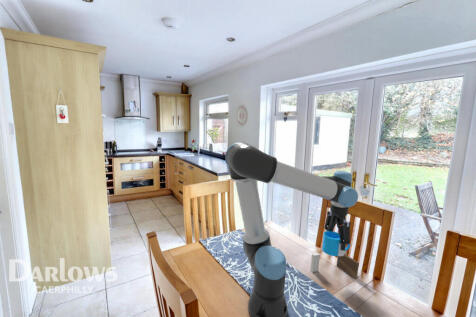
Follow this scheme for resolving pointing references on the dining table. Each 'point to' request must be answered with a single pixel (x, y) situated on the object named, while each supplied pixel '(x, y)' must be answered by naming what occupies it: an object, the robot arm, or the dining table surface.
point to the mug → (331, 243)
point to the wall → (316, 261)
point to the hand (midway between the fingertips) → (334, 250)
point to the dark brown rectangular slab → (349, 265)
